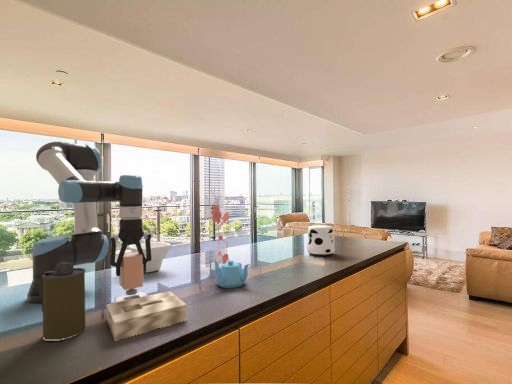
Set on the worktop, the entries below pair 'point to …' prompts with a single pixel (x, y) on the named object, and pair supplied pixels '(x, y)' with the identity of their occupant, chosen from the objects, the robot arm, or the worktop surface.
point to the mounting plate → (144, 314)
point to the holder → (130, 297)
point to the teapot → (230, 274)
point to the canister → (63, 301)
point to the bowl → (154, 254)
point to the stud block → (132, 272)
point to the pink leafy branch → (215, 219)
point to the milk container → (320, 240)
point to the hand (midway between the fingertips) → (131, 283)
